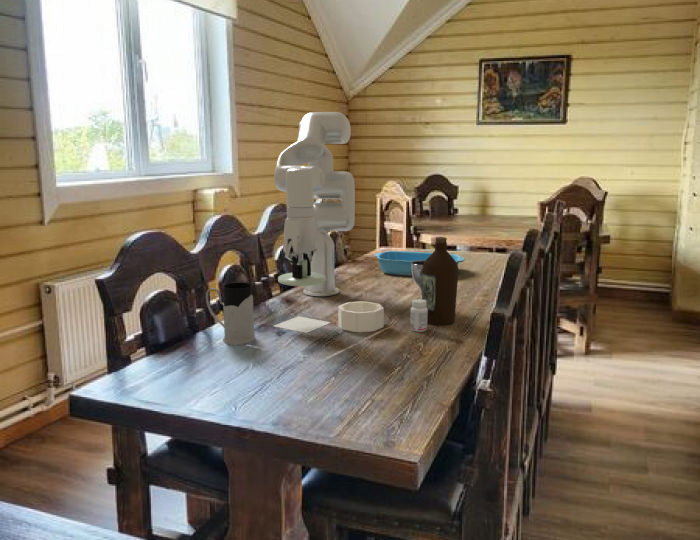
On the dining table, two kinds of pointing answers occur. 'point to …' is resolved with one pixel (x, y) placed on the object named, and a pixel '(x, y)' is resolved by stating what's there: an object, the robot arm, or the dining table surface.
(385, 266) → the casserole dish
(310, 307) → the dining table surface
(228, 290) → the glass holder
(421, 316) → the pill bottle
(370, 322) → the bowl
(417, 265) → the wine glass
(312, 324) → the mat
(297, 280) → the lid
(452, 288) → the olive oil
